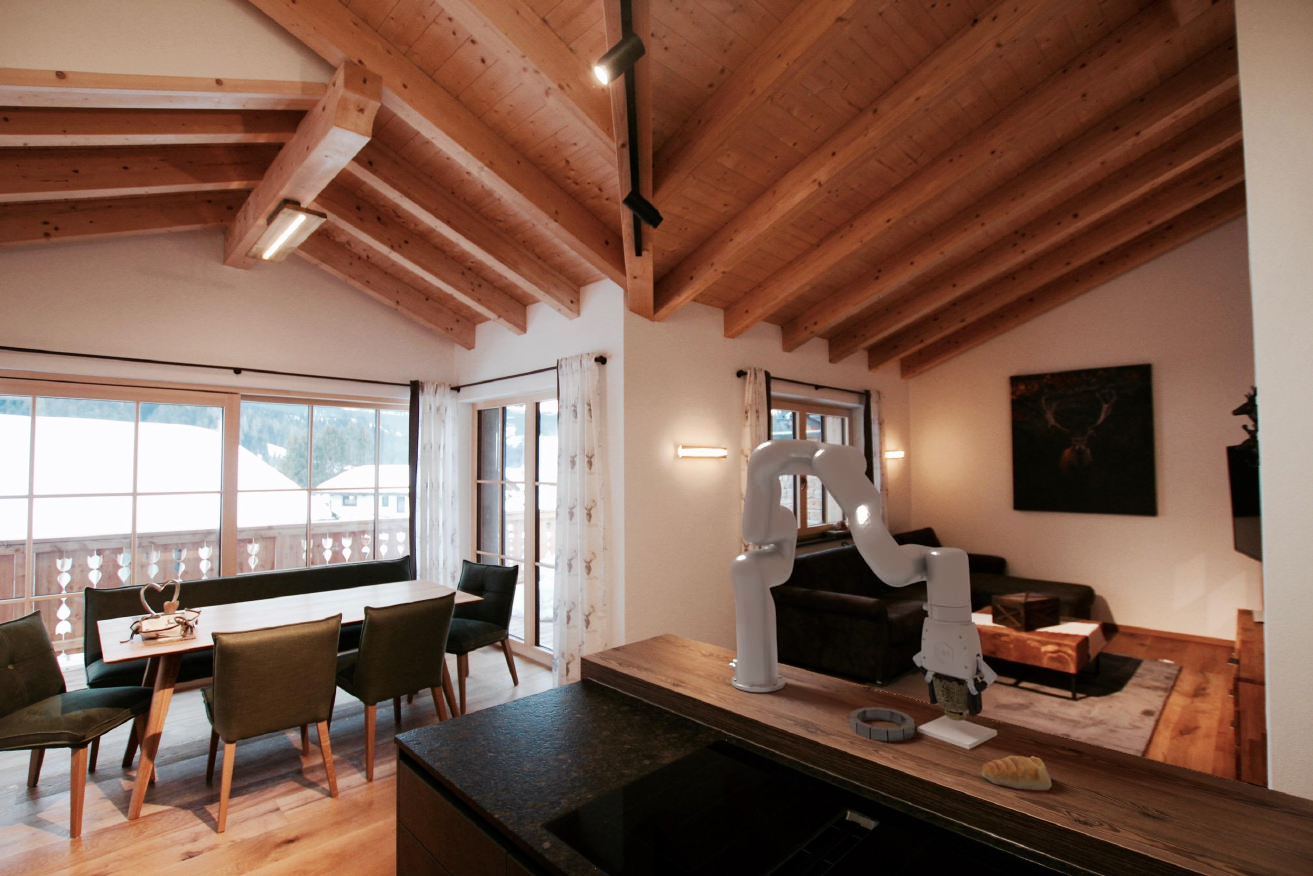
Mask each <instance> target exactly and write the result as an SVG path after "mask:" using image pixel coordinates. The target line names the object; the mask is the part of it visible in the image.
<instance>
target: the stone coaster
mask: <svg viewBox="0 0 1313 876" xmlns="http://www.w3.org/2000/svg"><path fill="white" fill-rule="evenodd" d="M916 728H917V729H916V731H917V733H921V734H923V735H926V736H929V737H931V738H935V739H938V740H941V741H944V742H946V743H949V744H953V745H954V746H955V745H956V746H958V747H961V748H964V749H967V750H971V749H973V748H974V747H976V746H978V745H980V744H982V743H985V742H986V741H988V740H991V739H992V738H994V737H996V736H997V735H998V731H997V729H993V728H991V727H990V728H989V727H986V726H983V725H980V724H977V723H975V722H974V723H973V722H971V721H967V720H965V719H964V720H961V721H956V720H951V719H949V718H947V717H946V715H942V716H940V717H938V718H936V719H934V720H931V721H928V722H926V723H925V724H924V723H923V724H921V725H920V726H917V727H916Z"/></svg>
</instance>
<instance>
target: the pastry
mask: <svg viewBox="0 0 1313 876" xmlns="http://www.w3.org/2000/svg"><path fill="white" fill-rule="evenodd" d="M980 773H981V776H982V777H983V778H985V779H986V780H987V781H989V782H990V783H992V784H994V785H999V786H1004V787H1007V788H1013V789H1017V790H1022V789H1023V790H1029V791H1030V790H1031V791H1049V790H1050V789H1051V788H1052V786H1053V785H1052V780H1051V778H1050V775H1049V772H1048V771H1047V767H1046V764H1045V763H1044V762H1043V760H1042V759H1041V758H1040V757H1035V756H1034V755H1032V756H1031V757H1026V756H1021V755H1017V756H1016V755H1007V756H1006V757H1003V758H1001V759H993V760H991V761H988V762H985V763H983V765H982V767H981V772H980Z"/></svg>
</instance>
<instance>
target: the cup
mask: <svg viewBox="0 0 1313 876" xmlns="http://www.w3.org/2000/svg"><path fill="white" fill-rule="evenodd" d="M932 678H933V684H934V690H935V695H936V698H937V701H938V703H937V704H938V705H939V706H940V707H941V708H942V709H944V714H945V715H946V717H947V718H949V719H951V720H956V721H961V720H964V721H965V720H966V718H967V714H966V712H969V710H968V694H969V693H970V690H969V688H968V685H967V682H966V681H965V680H963V679H958V678H954V677H950V676H946V675H942V674H938V673H935V675H934V676H933V674H932ZM945 715H944V716H945Z"/></svg>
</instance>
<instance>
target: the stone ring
mask: <svg viewBox="0 0 1313 876" xmlns="http://www.w3.org/2000/svg"><path fill="white" fill-rule="evenodd" d="M875 720H880V721H886V722H892V723H894V724H898V725H900V726H891V727H883V726H875V725H872V724H868V723H866V721H875ZM849 728H850V729H851V731H853V732H854V733H855V734H857V735H859V736H861V737H864V738H867V739H869V740H873V741H880V742H887V743H888V742H889V743H890V742H902V741H907V740H909V739H911V738H913V737H914V736H915V720H914V718H913V717H912V716H911V715H909V714H908V713H905V712H902V711H899V710H896V709H895V708H886V707H878V706H877V707H876V706H873V707H871V706H870V707H860V708H857V709H854V710H852V711H850V715H849Z"/></svg>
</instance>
